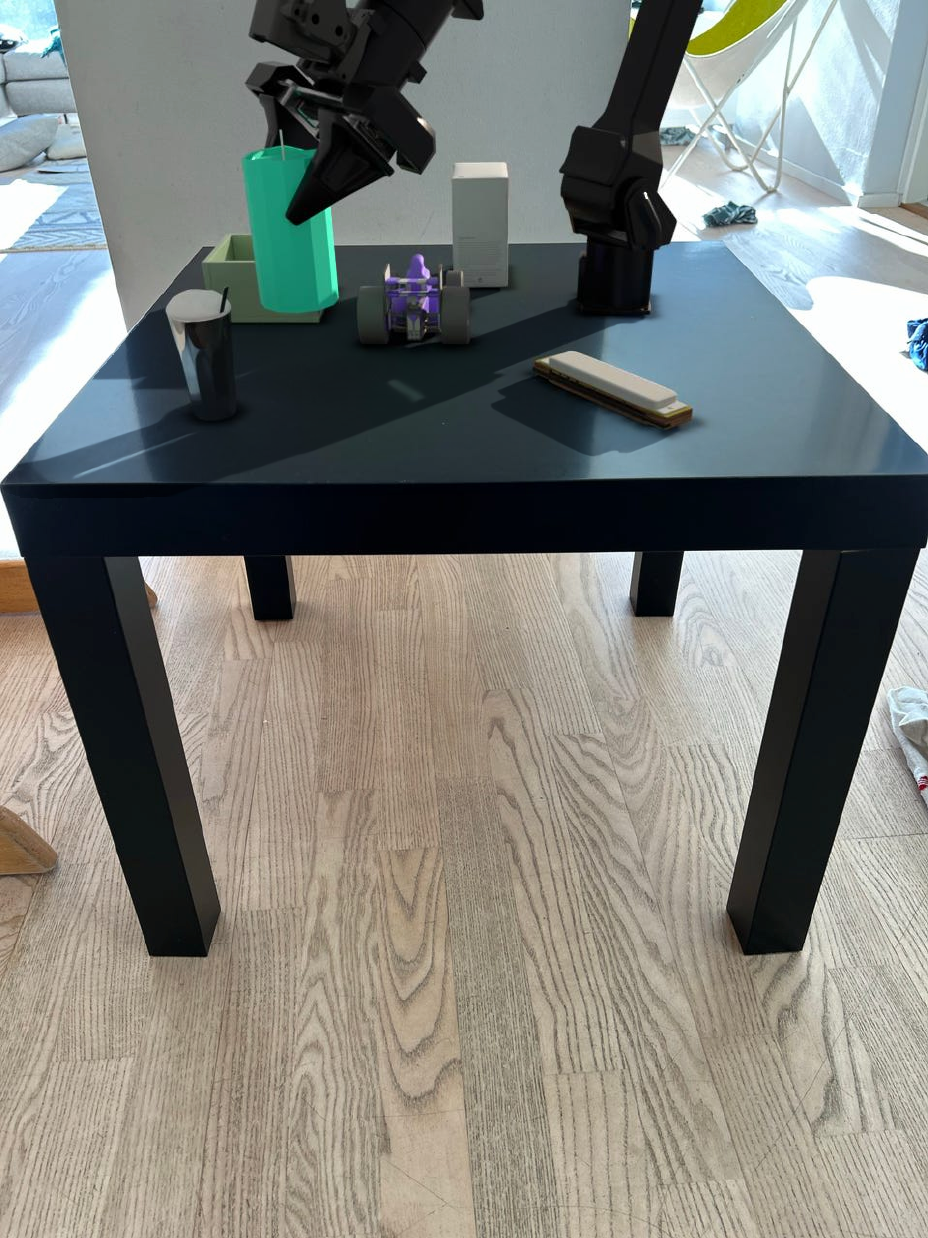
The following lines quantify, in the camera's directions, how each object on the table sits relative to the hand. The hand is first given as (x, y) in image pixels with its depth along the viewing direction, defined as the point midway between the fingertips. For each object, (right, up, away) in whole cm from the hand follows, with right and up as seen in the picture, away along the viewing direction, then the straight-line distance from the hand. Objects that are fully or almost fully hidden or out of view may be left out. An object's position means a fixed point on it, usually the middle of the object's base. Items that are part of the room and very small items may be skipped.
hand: (272, 213), depth 73 cm
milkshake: (-5, -14, +3) cm, 15 cm away
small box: (+16, +6, +32) cm, 36 cm away
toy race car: (+10, -2, +20) cm, 22 cm away
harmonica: (+25, -12, +5) cm, 29 cm away
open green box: (-4, +1, +25) cm, 25 cm away
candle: (+1, -5, +5) cm, 7 cm away
